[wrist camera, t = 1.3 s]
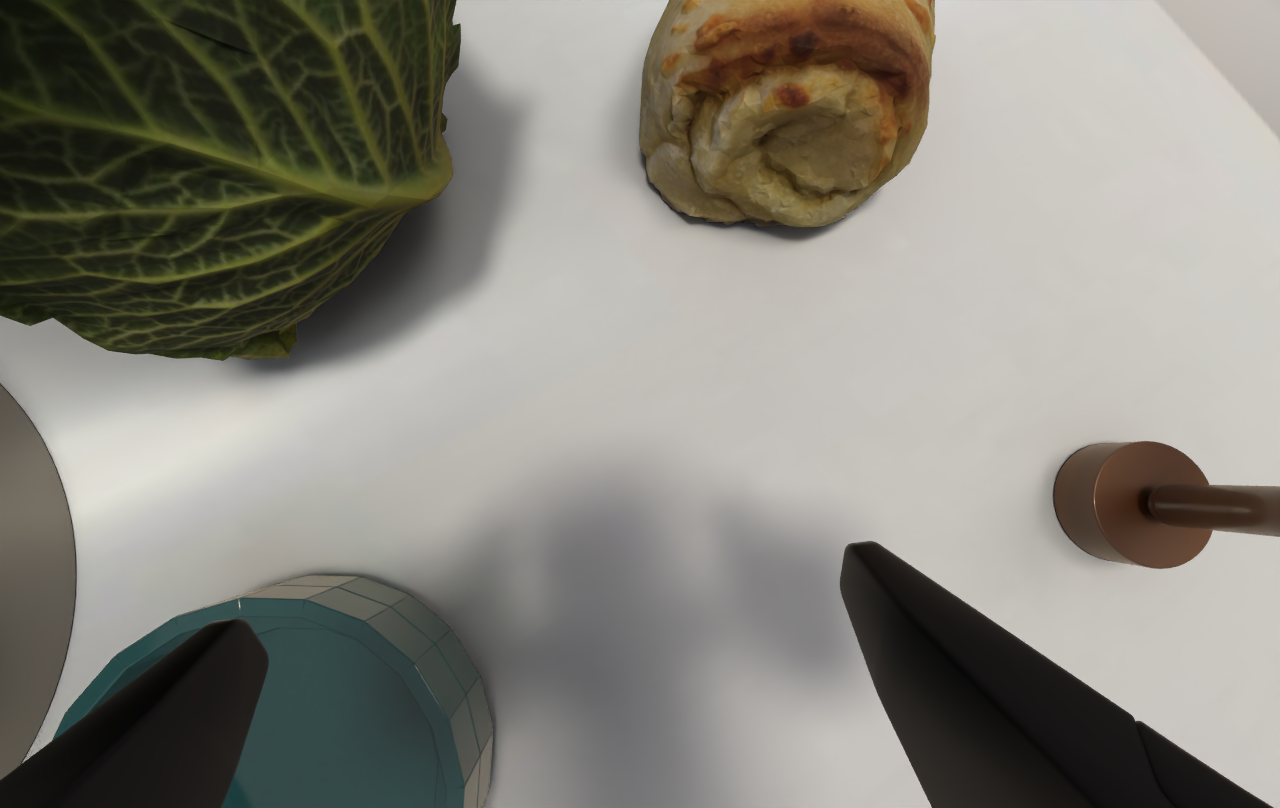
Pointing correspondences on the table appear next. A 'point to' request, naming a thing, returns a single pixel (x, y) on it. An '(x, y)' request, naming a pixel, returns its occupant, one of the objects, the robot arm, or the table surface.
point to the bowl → (341, 699)
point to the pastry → (783, 105)
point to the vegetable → (210, 161)
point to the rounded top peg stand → (1153, 504)
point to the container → (30, 582)
